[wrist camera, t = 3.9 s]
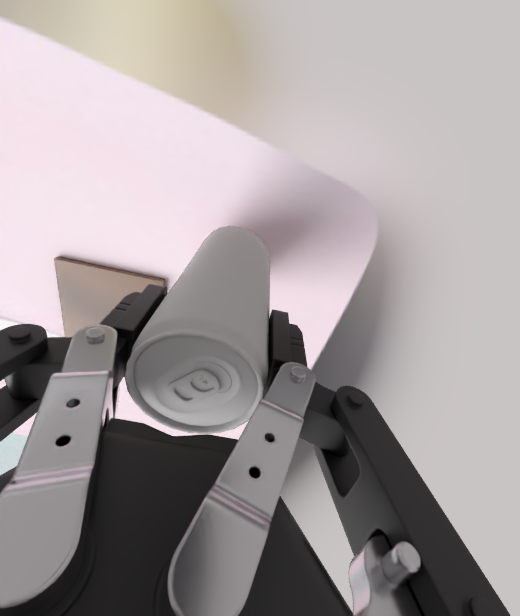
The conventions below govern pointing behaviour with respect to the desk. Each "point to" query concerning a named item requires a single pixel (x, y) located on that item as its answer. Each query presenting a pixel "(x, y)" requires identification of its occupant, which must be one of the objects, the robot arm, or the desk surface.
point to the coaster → (93, 291)
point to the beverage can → (208, 339)
